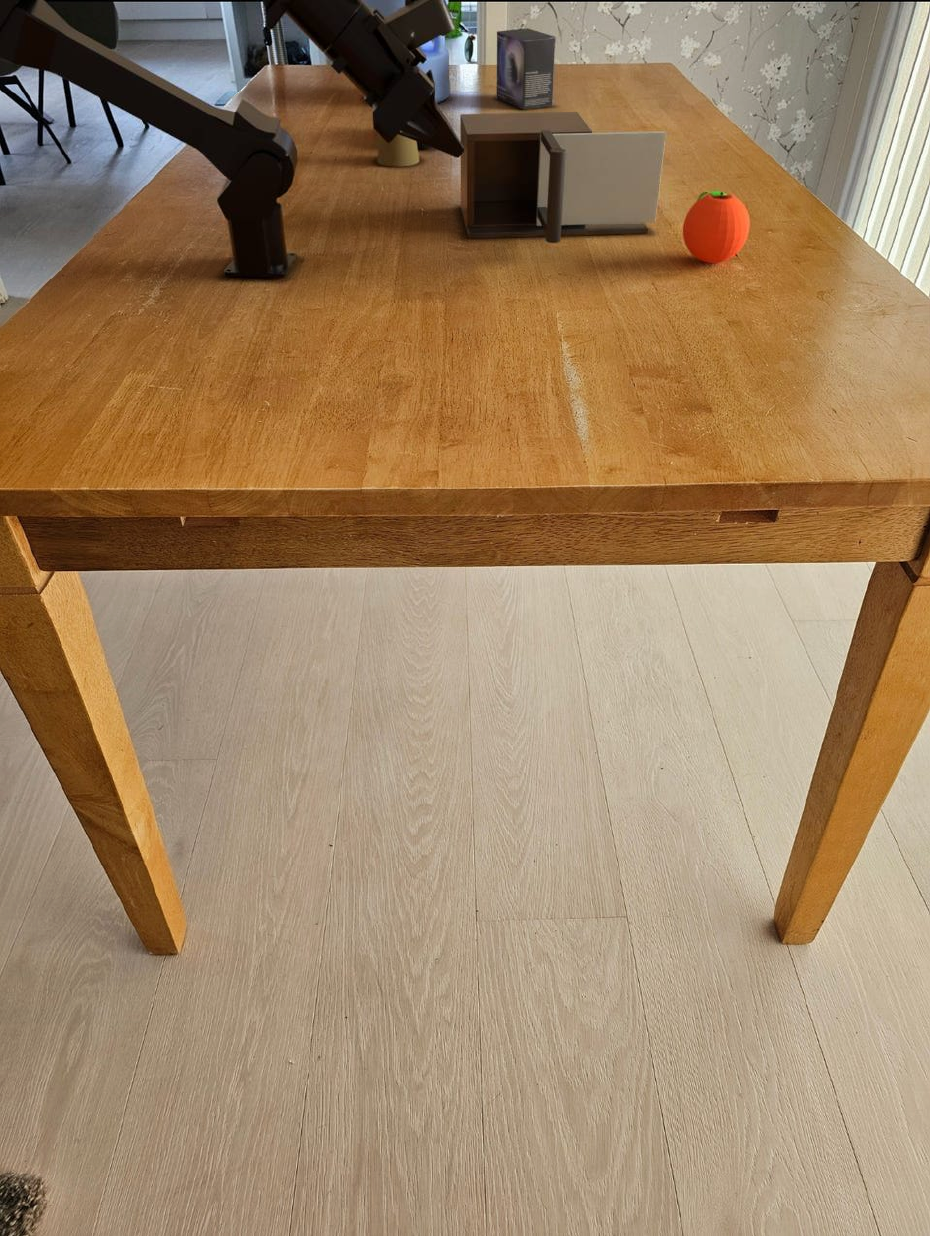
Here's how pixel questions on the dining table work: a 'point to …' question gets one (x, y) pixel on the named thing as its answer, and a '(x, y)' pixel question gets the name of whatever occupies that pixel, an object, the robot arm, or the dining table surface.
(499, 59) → the small box
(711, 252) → the clementine
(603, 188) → the sliding door
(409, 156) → the cork
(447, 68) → the water jug
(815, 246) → the dining table surface
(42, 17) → the robot arm
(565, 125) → the cabinet
